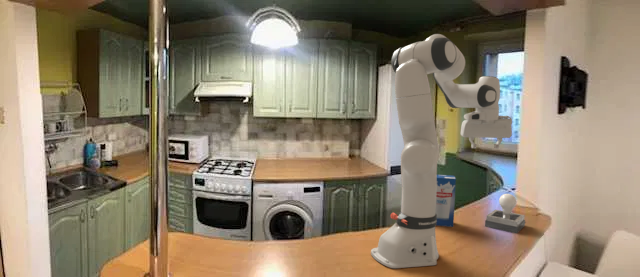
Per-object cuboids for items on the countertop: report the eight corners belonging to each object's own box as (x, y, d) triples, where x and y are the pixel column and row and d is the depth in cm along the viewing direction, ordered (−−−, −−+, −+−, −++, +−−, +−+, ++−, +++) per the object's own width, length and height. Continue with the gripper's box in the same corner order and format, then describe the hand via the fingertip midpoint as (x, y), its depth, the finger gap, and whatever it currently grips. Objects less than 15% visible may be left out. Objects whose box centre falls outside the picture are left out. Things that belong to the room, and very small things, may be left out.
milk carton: (452, 222, 159) (454, 175, 156) (453, 226, 153) (456, 178, 150) (427, 219, 161) (429, 174, 159) (428, 224, 155) (430, 177, 153)
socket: (517, 233, 146) (517, 222, 145) (484, 226, 154) (485, 215, 153) (524, 225, 155) (525, 215, 154) (494, 219, 163) (494, 209, 162)
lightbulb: (498, 221, 152) (501, 195, 151) (496, 216, 158) (498, 191, 157) (516, 223, 150) (518, 196, 149) (513, 218, 156) (515, 192, 155)
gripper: (508, 115, 160) (506, 147, 162) (460, 114, 161) (458, 146, 162) (515, 116, 154) (513, 149, 155) (465, 115, 154) (463, 148, 156)
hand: (485, 148), depth 159 cm, fingers open, 8 cm apart
